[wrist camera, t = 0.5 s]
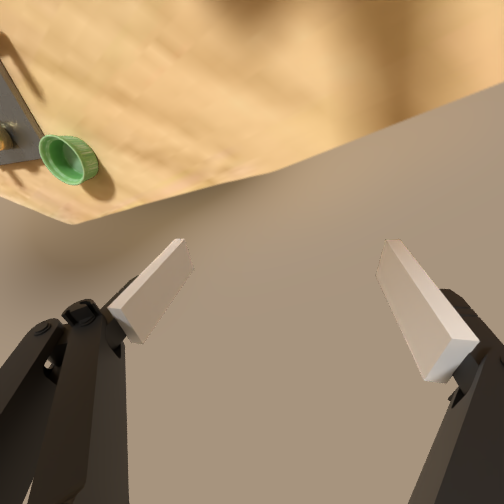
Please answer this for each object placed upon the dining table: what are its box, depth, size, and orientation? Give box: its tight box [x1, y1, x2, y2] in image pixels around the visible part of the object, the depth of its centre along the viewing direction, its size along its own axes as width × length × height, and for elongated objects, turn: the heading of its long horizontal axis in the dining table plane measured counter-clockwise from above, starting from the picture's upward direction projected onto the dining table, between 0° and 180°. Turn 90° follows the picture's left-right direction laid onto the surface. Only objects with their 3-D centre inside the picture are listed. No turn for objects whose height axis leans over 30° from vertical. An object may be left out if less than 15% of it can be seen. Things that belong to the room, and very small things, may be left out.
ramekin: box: [39, 135, 98, 185], centre depth 42 cm, size 9×9×4 cm
